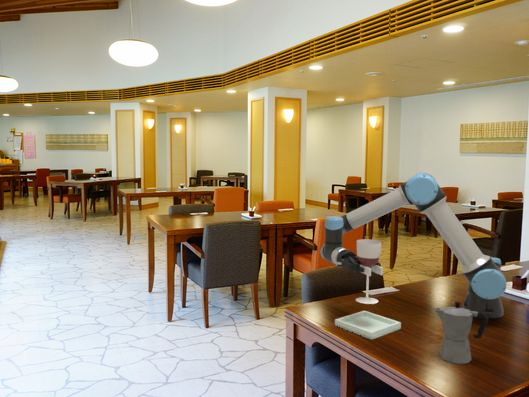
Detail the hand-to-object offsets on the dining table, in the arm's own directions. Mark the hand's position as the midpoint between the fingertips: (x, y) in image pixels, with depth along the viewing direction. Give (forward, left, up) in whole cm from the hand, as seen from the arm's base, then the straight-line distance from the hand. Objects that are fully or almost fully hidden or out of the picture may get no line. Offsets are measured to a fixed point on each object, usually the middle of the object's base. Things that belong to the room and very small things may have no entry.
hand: (376, 271), depth 163 cm
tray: (+5, -2, -22) cm, 23 cm away
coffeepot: (-30, -3, -22) cm, 38 cm away
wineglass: (+5, -2, -12) cm, 13 cm away
